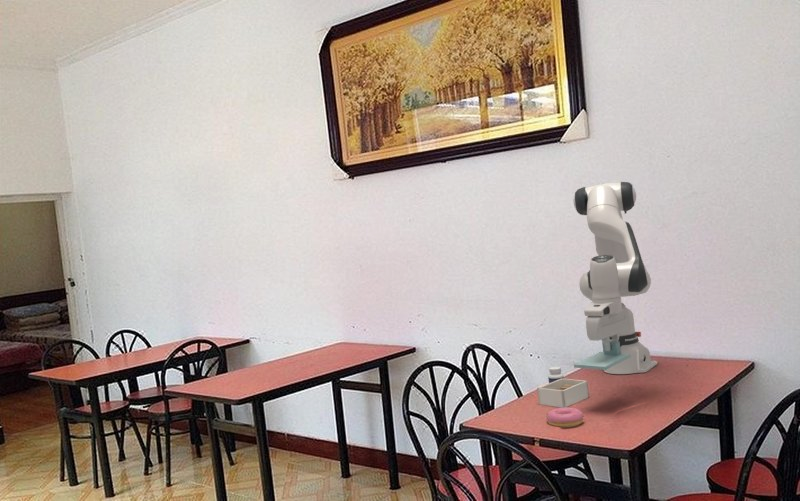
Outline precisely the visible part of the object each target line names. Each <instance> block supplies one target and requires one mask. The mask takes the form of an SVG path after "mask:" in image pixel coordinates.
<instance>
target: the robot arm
mask: <svg viewBox="0 0 800 501" xmlns="http://www.w3.org/2000/svg"><path fill="white" fill-rule="evenodd" d="M636 201H637V192H636V189H635V187H634V185H633V184H632V183H631V182H629V181H620V182H605V183H602V184H595V185H591V186H587V187H586V186H583V187H579V188H578V189H576V190H575V192H574V196H573V206H574V208H575V210H576V212H577V213H578V214H579V215H581V216H586V220H587V225H588V229H589V231H590V232H591V233H592V234H593V235H594V243H595V251H596V254H597V255H596V256H593V257H592V258H590V262H589V271H587V272H584V273H583V274H582V275H581V277H580V278H579V290H580V291H581V294H582V295H583V297H585V298H587V299H589V300H590V301H591V302H590V304H589V305H588V306H586V308H585V309H584V310H583V311H584V316H585V317H586V318H585V329H586V336H587V338H588V339H589V341H597V342H598V341H601V343H602V342H603V344H604V346H605V351H610V350H612V345H610V342H609V341H619V342H620V349H621V353H623V354H631V357H630V358H628V359H626V360H624V361H622V362H620V363H618V364H616V365H615V366H613V367H611V368H609V369H607V370H603V372H605V373H606V374H612V375H630V374H639V373H641V374H643V373H647V372H648V371H650V370H651V369H653V368H654V367H656V366H657V365H658V361H656V360H653V359H651V354H650V351H649V348H647V347H646V346H645V345H643V344H642V343H641V342H639V341H640V340H639V338H641V337H642V332H641V331H636V329H635V319H634V317H635V316H634V313H633V312H632V311H631V309H629V308H627V307H626V305H625V304H624V303H623V302H622V298H624V297H635V296H638V295H639V296H640V295H643V294H646V293H647V292H648V291H649V289H650V288H651V284H652V282H651V281H652V278H651V276H650V275H651V274H649V272H648V271H647V268H646V266H645V264H644V262H643V259H642V256H641V251H640V249H639V245H638V242H637V239H636V236H635V234H634V230H633V228H632V225H631V224H630V223H629V222H628V221H625V220H624V218H623V216H622V212H624V215H626V214H628V213H627V212H628V211H630V210H632V209H633V207H634V206H635V203H636Z"/></svg>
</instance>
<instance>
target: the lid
mask: <svg viewBox="0 0 800 501" xmlns="http://www.w3.org/2000/svg"><path fill="white" fill-rule="evenodd" d="M609 342H610V345H612V350H610V351H605V346H604V344H603V342H602V341H601V344H602V351H599V352H596V353H595V354H593V355H591V356H589V357H586V358H585V359H582V360H581V361H579V362H576V363H574V364H573V368H577V369H587V370H599V371H604V370H607V369H609V368H611V367H613V366H615V365H616V364H618V363H620V362H622V361H624V360H626V359H628V358H630V357H631V354H623V353H621V349H620V342H619V341H609Z"/></svg>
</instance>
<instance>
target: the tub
mask: <svg viewBox="0 0 800 501" xmlns="http://www.w3.org/2000/svg"><path fill="white" fill-rule="evenodd" d="M588 383H589V382H588V380H582V379H571V378H564V379H563V378H562V379H559V380H557V381H554V382H552V383H549V382H548V383H547V384H544V385H541V386H539V387H537V388H536V389H537V399H538V404H539V405H540V406H547V407H556V408H561V407H562V408H563V407H570V406H572V405H574V404H577V403H578V402H581V401H584V400H586V399H588V398H590V394H589V393H590V392H589V384H588ZM564 385H574V386H572V387H570V388H567V389H565V390H555V389H560V387H562V386H564Z"/></svg>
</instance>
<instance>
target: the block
mask: <svg viewBox="0 0 800 501" xmlns="http://www.w3.org/2000/svg"><path fill="white" fill-rule="evenodd" d="M572 386H574V385H564V386H562V387H560V389H562V390H565V389H567V388H570V387H572Z"/></svg>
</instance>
